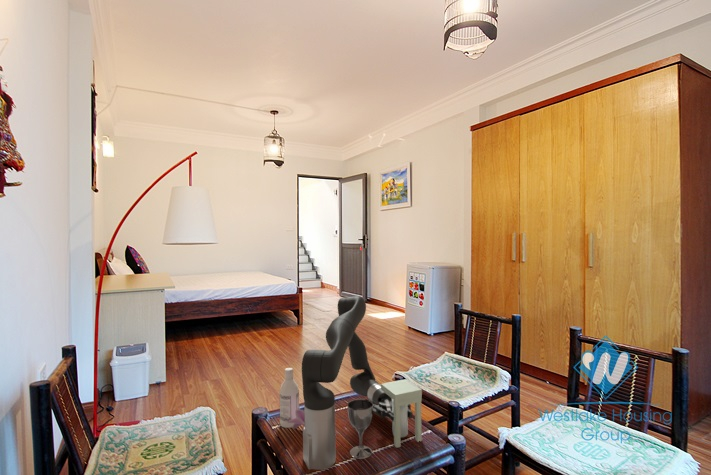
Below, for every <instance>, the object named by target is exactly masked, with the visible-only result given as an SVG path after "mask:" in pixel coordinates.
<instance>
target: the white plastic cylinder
mask: <svg viewBox="0 0 711 475" xmlns="http://www.w3.org/2000/svg"><path fill="white" fill-rule="evenodd" d="M392 412H393V413H394V401H393V399H392ZM408 420H409V418H408V407H407V405H404V406H400V438H405V437H407V436H408V434H409V429H408V428H409V425H408V423H409V421H408ZM391 421H392V420H391ZM391 424H392V430H391V431H392V435H393V436H394V421H392V423H391Z"/></svg>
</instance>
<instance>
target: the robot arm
mask: <svg viewBox="0 0 711 475" xmlns="http://www.w3.org/2000/svg"><path fill="white" fill-rule="evenodd" d="M366 311H367V305H366V300H365V299H364V298H363V297H362V296H357V295H355V296H348V297H347V296H346V297H345V296H344V297H341V298H339V299H338V301H337V313H338V314H337V315H338V316H337V317H335V318H334V319H333V320H332V321H331V323H329V326H328V327H327V329H326V332H325V340H326V343H327V345H328V347H329V349H330V350H323V349H308V350H306V351H305V352H304V354H303V356H302V359H301V378H302V379H301V380H302V395H303V396H302V397H303V402H304V404H303V407H304V409H303V410H304V415H305V426H304V427H303V428H302V459H303V461H304V463H305V465H306V468H307V469H308V470H325V469H328V468H330V467H332V466H333V465H334V464H335V463H336V459H337V458H336V455H337V453H336V451H337V450H336V402H335V401H336V400H335V398H336V397H335V394H334V392H333V390H331V389H328V388H327V387H325V386H324V385H323V383H324V384H325V383H326V384H330V383H333V382H335V381H336V380H337V377H338V375H339V372H340V370H341V366H342V362H343V359H344V357H345V355H346V352H347V350H348V351H349V352H348V353H349V358H350V363H351V367H352V369H354V370H356V371H357V370H358V371H360V370H363V372H359V373H356V374H354V375H352V376H351V378H350V380H349V385H350V388H351V390H352V391H353V392H354V393H355V394H357V395H360V396H362V397H366V398H367V400H369V401H371V402H372V403H373V414H374V415H376V416H378V417H379V418H381V419H386V418H388V419H390V420H391V421H394V413H393V412H392V398H391V397H390V396H388V395H387V394H386V393H385V392H383V391H382V390H381V383H379V382H378V381H377V380H376V378H375V375H374V372H373V371H372V369H371V366H370V363H369V360H368V355H367V354H368V353H367V348H366V344H365V343H364V342H363V340H362V339H361V338H360V336H359V335H358V334H357V333H356V329H357V328H358V326H359V325H360V323H361V322H362V321H363V319H364V317H365V315H366ZM321 383H322V384H321ZM407 407H408V419H413V418H414V417H413V411H412V404H408V405H407Z"/></svg>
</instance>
